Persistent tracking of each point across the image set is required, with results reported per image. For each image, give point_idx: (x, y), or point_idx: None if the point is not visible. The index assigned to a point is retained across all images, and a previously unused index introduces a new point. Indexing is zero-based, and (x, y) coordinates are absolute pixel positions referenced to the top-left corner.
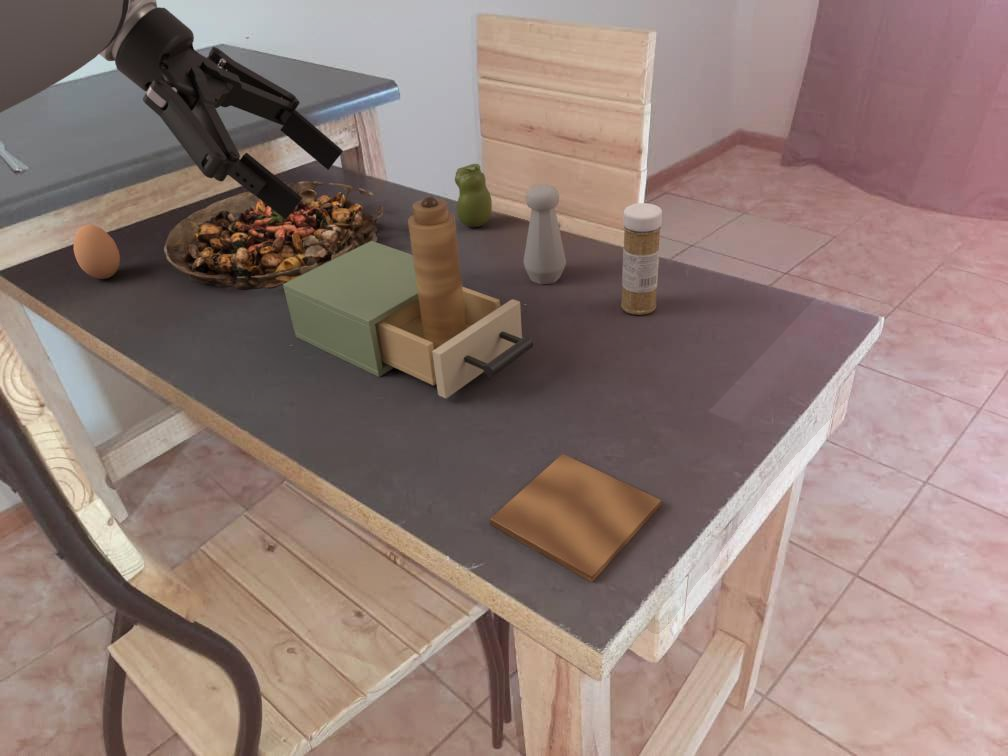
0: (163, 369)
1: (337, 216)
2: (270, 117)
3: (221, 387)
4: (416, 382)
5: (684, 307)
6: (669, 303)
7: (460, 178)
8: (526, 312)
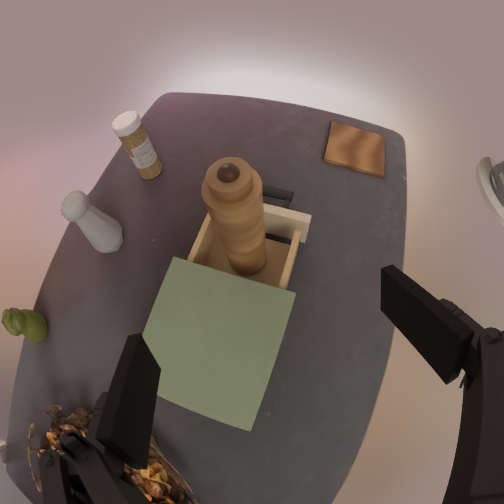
0: (335, 485)
1: None
2: (141, 495)
3: (346, 426)
4: None
5: None
6: None
7: (15, 328)
8: (165, 234)
